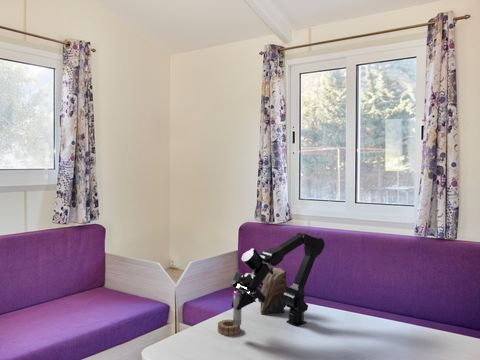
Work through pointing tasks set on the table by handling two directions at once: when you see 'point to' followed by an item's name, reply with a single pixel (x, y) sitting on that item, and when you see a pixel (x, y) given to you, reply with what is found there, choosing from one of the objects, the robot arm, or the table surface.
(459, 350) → the table surface
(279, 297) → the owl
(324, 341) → the table surface
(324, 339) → the table surface
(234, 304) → the purple capped tube
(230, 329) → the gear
